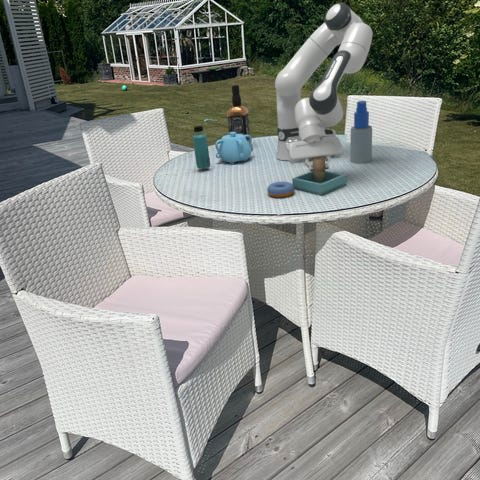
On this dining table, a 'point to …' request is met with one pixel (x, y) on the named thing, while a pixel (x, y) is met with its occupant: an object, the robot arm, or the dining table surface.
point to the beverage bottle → (201, 148)
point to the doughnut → (280, 189)
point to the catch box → (319, 183)
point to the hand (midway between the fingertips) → (319, 169)
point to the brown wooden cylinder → (319, 169)
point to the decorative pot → (234, 147)
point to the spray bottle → (361, 136)
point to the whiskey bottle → (238, 115)
